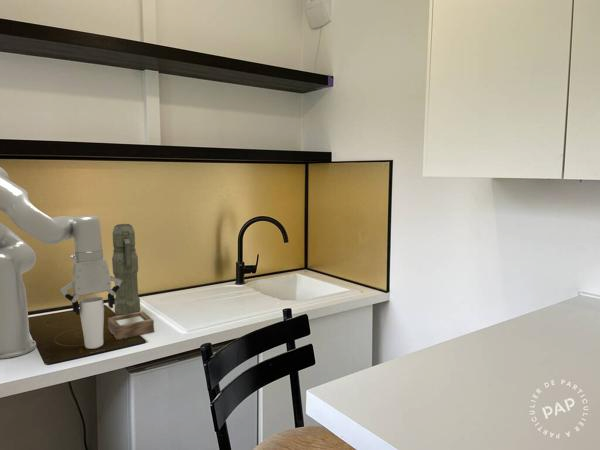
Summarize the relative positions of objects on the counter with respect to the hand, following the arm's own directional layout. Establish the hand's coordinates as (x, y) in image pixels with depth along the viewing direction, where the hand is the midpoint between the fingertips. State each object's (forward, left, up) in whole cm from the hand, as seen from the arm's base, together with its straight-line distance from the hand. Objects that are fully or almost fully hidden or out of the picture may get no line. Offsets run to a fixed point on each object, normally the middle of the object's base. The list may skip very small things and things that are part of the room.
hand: (94, 310), depth 137 cm
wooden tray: (+12, +7, -12) cm, 18 cm away
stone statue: (+15, +22, -12) cm, 30 cm away
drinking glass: (-1, 0, -12) cm, 12 cm away
